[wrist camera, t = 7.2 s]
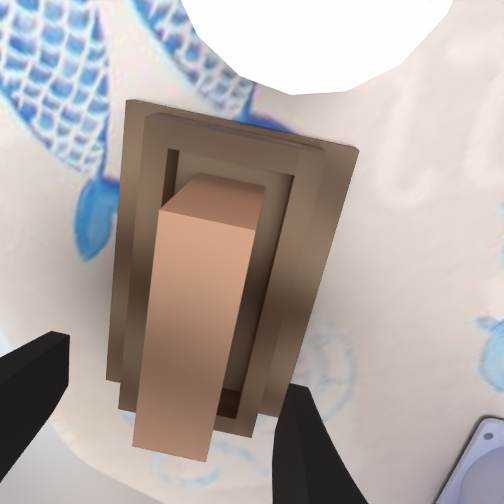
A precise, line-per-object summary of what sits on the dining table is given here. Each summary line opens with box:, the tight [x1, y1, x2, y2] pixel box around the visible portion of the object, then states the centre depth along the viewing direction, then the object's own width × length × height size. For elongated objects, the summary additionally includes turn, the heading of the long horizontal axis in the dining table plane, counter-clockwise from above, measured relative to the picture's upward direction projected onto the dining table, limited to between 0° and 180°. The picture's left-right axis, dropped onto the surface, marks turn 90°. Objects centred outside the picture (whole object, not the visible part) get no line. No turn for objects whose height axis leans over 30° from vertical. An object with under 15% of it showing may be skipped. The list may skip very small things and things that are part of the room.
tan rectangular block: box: [132, 172, 266, 462], centre depth 17 cm, size 10×3×6 cm, turn 169°
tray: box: [106, 100, 359, 438], centre depth 19 cm, size 15×10×3 cm, turn 169°
